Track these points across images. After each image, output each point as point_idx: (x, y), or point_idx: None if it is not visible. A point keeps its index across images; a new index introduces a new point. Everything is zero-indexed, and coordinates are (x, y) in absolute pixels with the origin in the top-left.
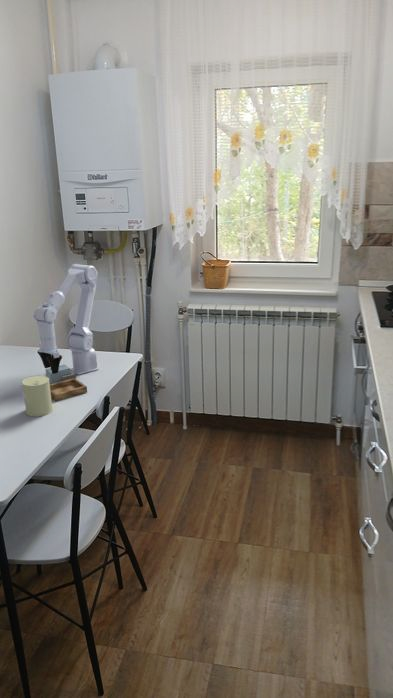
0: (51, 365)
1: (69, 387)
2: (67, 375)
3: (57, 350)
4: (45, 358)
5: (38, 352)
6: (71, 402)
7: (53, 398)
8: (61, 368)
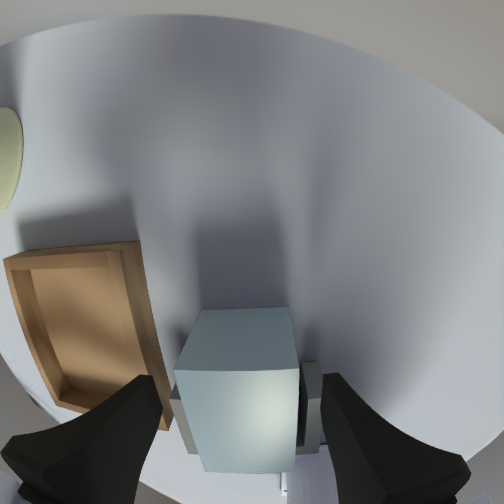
0: (77, 419)
1: (126, 370)
2: (188, 426)
3: None
4: (348, 459)
5: (417, 493)
6: (8, 299)
7: (38, 250)
8: (228, 448)
